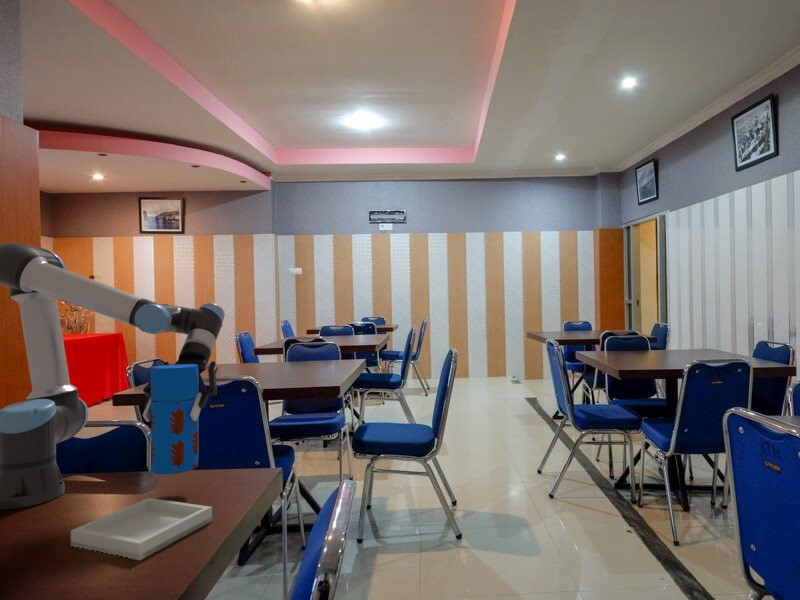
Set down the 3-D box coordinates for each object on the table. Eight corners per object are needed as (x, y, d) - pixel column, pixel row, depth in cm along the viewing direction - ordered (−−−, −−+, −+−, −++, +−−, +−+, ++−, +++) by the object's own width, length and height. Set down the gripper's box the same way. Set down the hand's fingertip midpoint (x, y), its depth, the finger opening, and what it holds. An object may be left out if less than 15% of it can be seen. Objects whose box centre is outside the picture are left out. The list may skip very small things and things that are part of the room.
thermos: (206, 461, 129) (206, 363, 129) (184, 475, 118) (184, 368, 119) (166, 461, 130) (166, 364, 130) (141, 474, 119) (141, 368, 120)
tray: (70, 546, 96) (70, 530, 97) (149, 511, 113) (148, 497, 113) (139, 560, 90) (139, 543, 90) (212, 521, 107) (211, 506, 107)
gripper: (242, 358, 140) (221, 426, 124) (160, 359, 140) (128, 427, 124) (236, 339, 135) (212, 408, 119) (150, 341, 135) (115, 409, 119)
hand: (169, 418), depth 121 cm, fingers closed on thermos, 11 cm apart
